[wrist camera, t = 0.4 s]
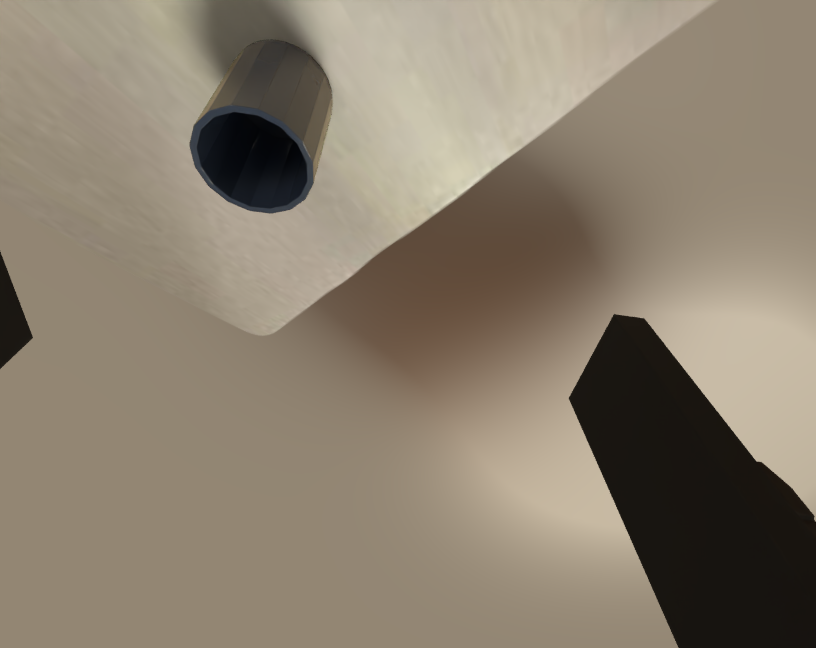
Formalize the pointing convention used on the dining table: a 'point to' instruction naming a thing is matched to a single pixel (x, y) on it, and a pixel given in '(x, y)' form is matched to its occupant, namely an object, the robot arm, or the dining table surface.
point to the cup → (264, 128)
